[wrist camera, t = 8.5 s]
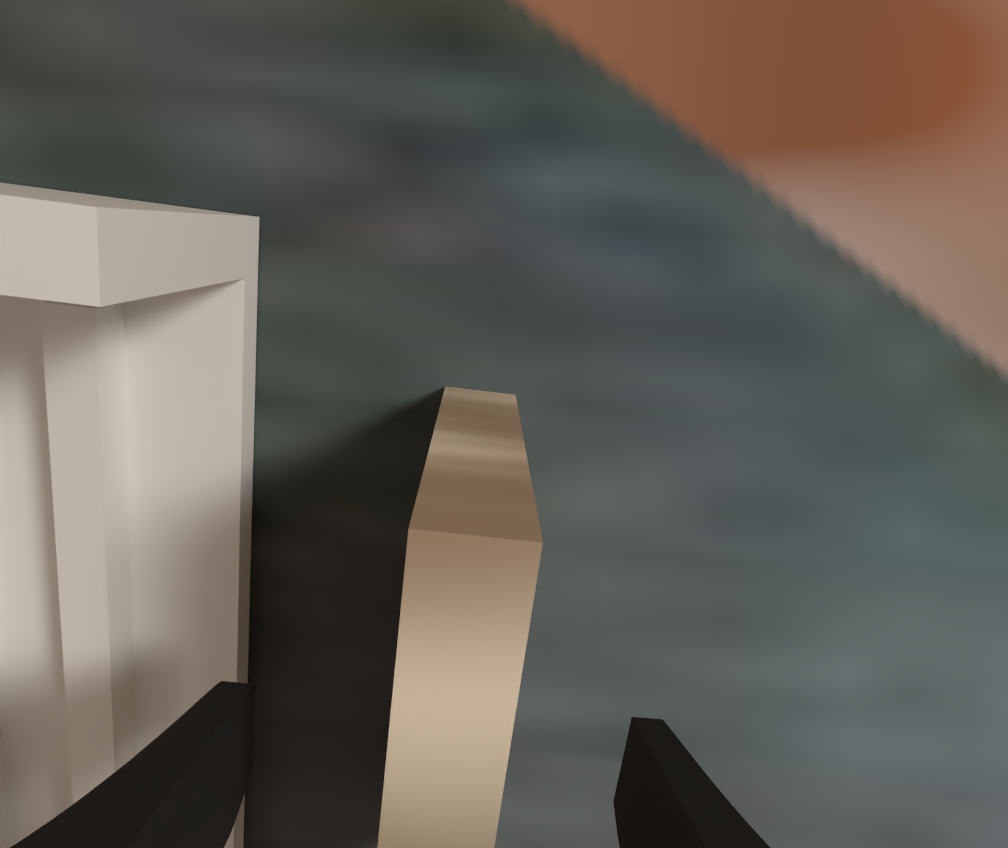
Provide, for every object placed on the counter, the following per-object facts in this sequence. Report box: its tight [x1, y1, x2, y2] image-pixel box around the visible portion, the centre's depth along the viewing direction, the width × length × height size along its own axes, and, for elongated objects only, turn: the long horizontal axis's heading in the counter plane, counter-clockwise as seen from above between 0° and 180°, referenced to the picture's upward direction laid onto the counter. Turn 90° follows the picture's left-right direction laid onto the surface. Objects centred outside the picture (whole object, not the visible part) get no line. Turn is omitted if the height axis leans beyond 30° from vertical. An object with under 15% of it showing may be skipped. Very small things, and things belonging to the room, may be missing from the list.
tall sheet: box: [378, 387, 543, 848], centre depth 13 cm, size 12×2×8 cm, turn 173°
